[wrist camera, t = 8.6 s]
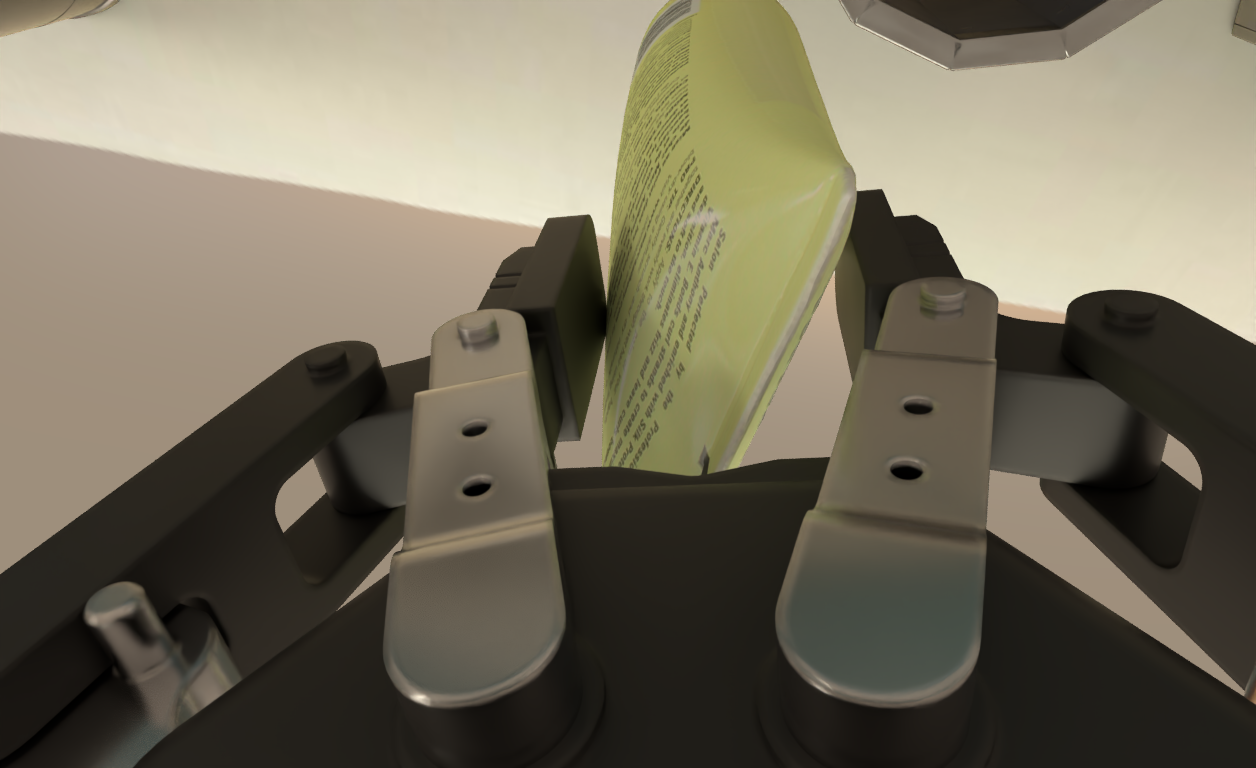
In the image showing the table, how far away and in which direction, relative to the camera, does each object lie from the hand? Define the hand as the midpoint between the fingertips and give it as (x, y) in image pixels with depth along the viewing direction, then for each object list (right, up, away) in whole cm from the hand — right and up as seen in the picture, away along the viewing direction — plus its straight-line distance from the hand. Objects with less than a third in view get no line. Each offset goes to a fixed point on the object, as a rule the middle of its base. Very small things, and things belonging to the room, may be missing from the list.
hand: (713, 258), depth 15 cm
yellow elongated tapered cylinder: (+1, +7, +11) cm, 13 cm away
